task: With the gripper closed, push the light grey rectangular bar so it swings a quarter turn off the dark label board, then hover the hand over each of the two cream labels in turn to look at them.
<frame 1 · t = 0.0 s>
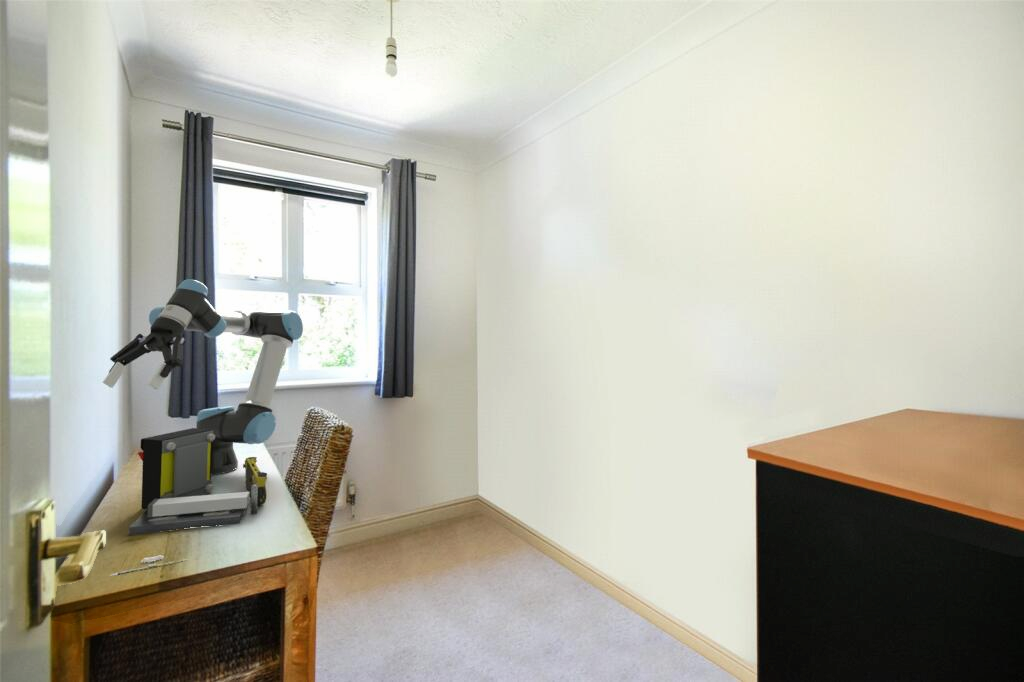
hand: (130, 386, 126), 36 cm above the table, tool tilted 35°, fingers open, 13 cm apart
label board: (193, 519, 127), on the table
electrical component: (178, 500, 142), on the table
gaming console: (253, 497, 147), on the table
light grey rectangular bar: (201, 503, 128), point 4 cm above the table, hinge at 0.0°
picture light: (151, 566, 102), on the table
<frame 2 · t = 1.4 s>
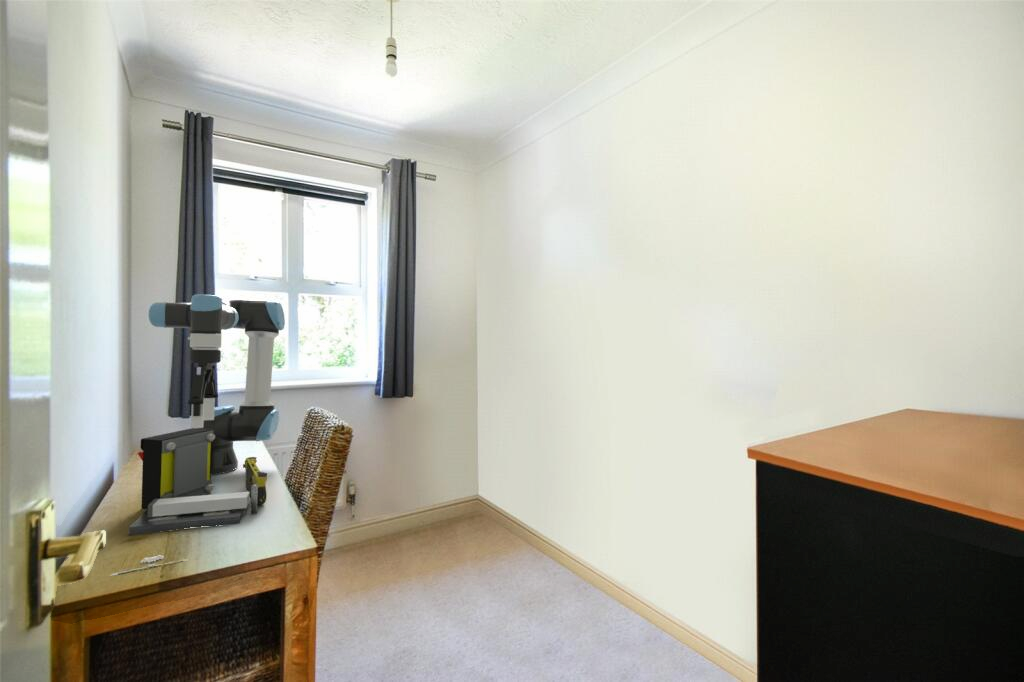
hand: (203, 423, 134), 25 cm above the table, tool pointing down, fingers open, 12 cm apart
nothing on the table moved.
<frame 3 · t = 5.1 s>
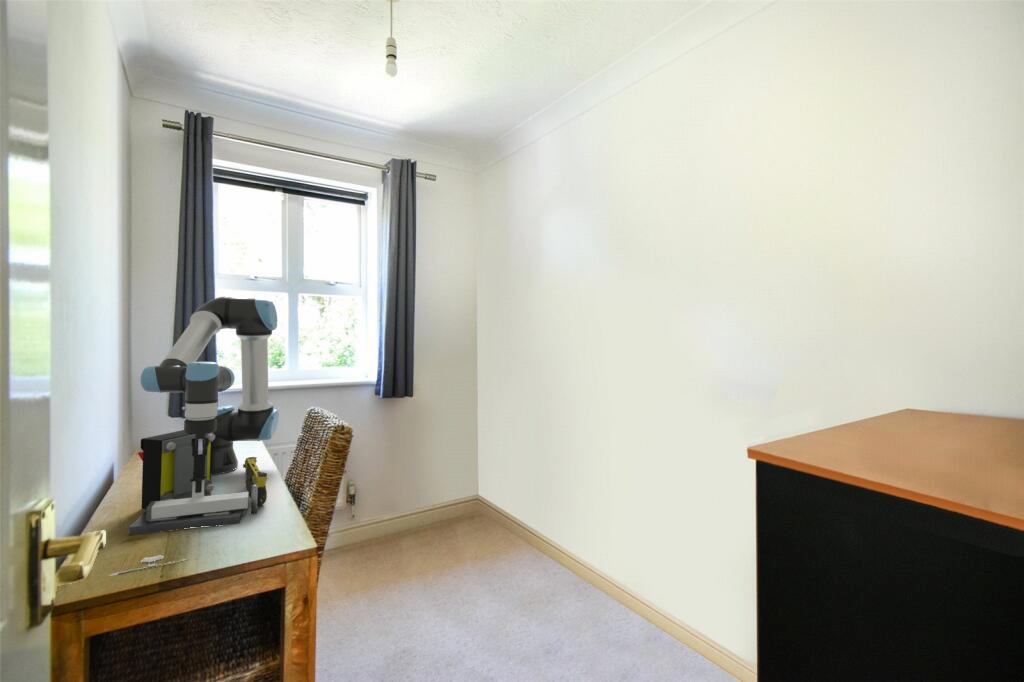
hand: (197, 503, 129), 4 cm above the table, tool pointing down, fingers closed
light grey rectangular bar: (200, 504, 127), point 4 cm above the table, hinge at 4.8°, touching gripper
everything else where it was.
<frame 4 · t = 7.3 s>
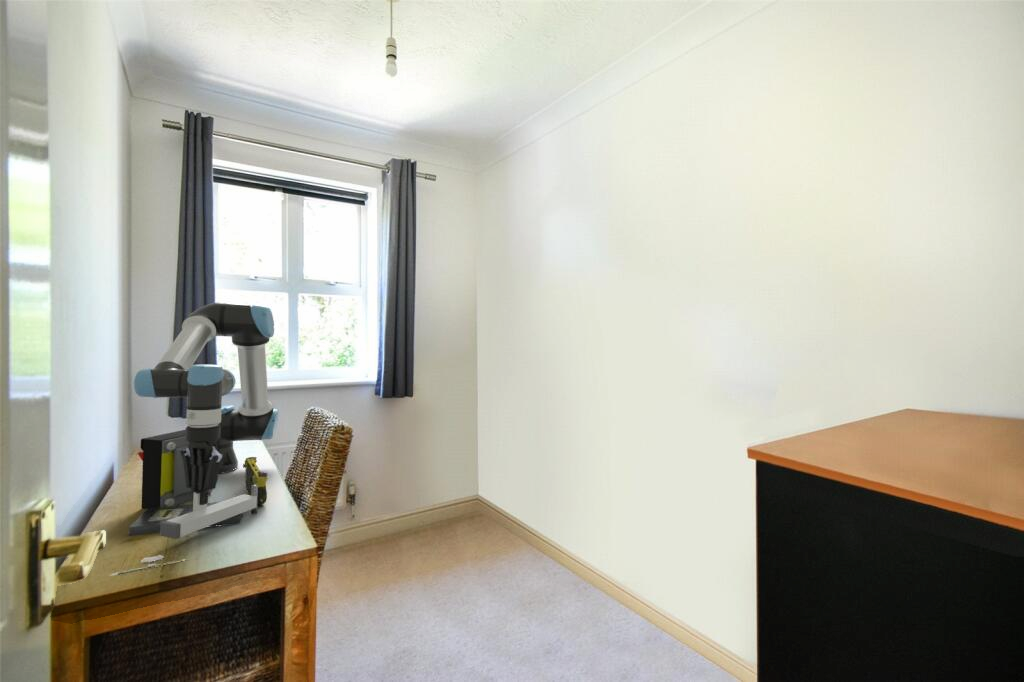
hand: (199, 516, 121), 3 cm above the table, tool pointing down, fingers closed
light grey rectangular bar: (212, 514, 121), point 4 cm above the table, hinge at 49.7°, touching gripper
everything else where it was.
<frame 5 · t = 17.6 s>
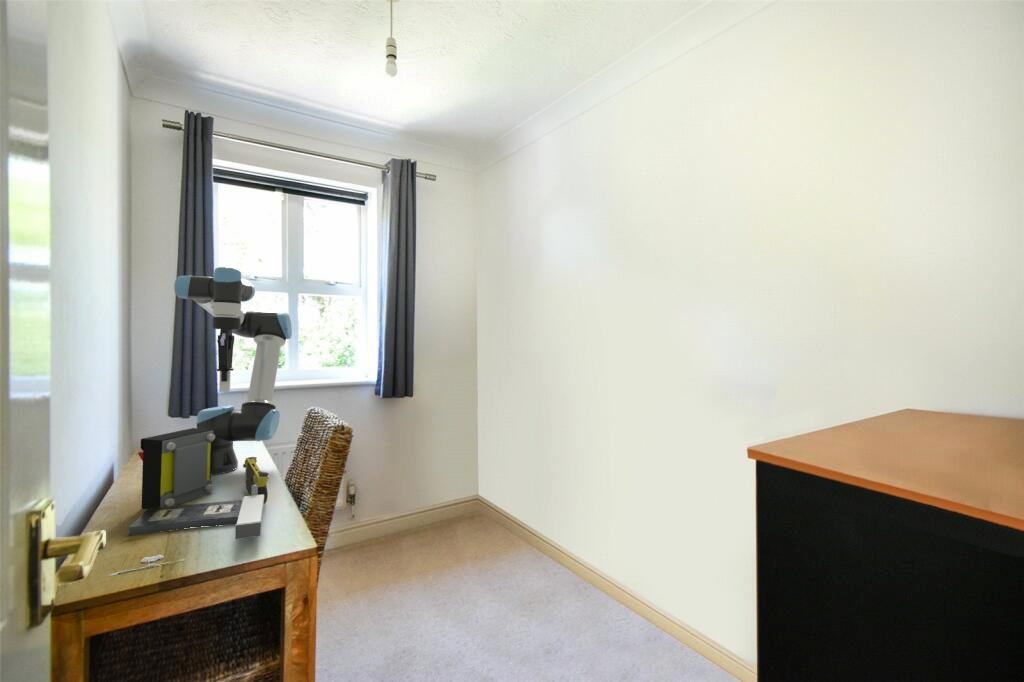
hand: (224, 391, 148), 32 cm above the table, tool pointing down, fingers closed
light grey rectangular bar: (251, 514, 121), point 4 cm above the table, hinge at 94.0°
everything else where it was.
at the end: light grey rectangular bar at +94° (first picture: +0°); gaming console moved 0.4 cm from its start; electrical component moved 0.3 cm from its start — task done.
